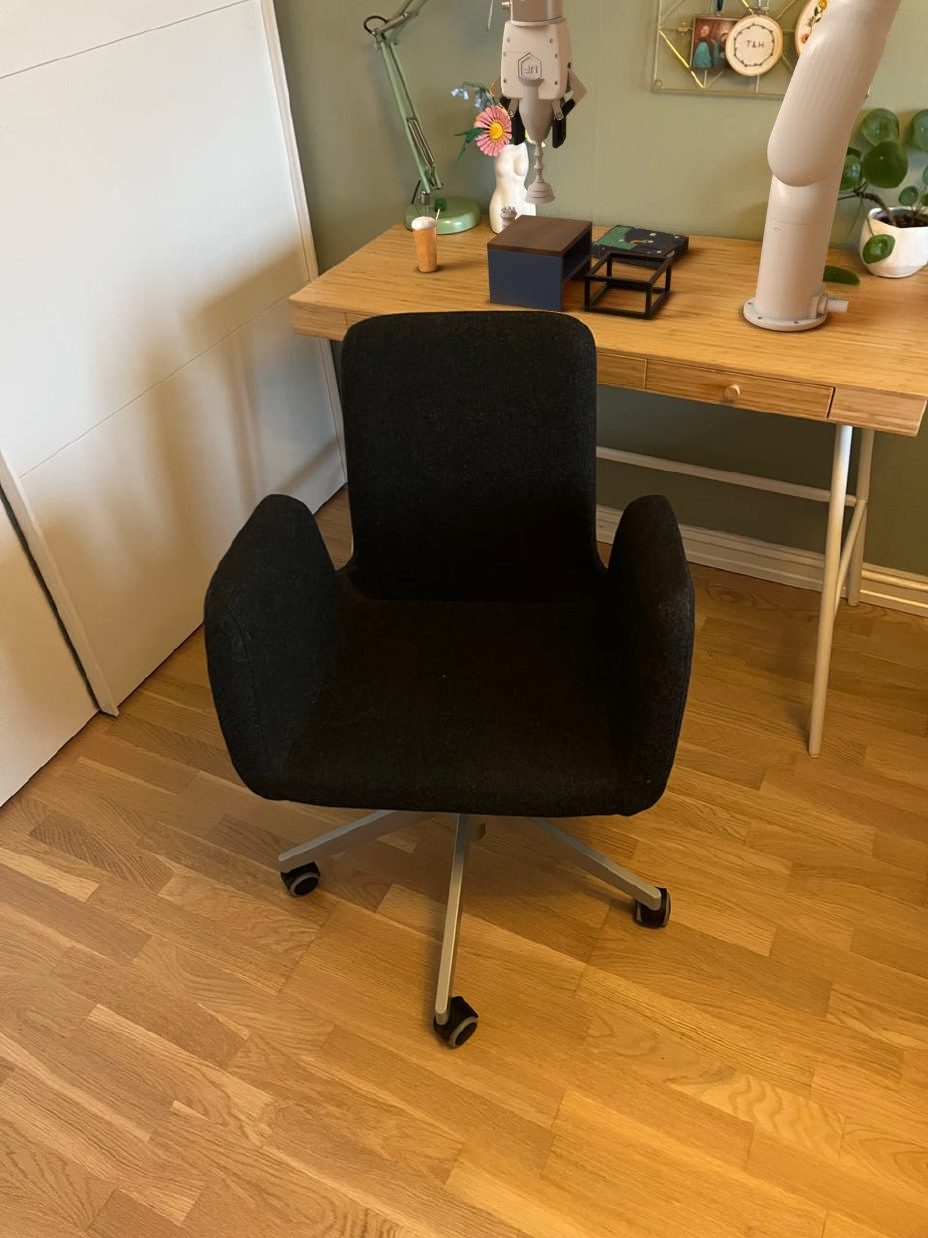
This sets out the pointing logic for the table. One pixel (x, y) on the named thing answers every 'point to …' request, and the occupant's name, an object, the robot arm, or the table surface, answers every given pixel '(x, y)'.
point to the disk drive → (640, 244)
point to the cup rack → (628, 284)
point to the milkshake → (426, 242)
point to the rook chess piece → (507, 216)
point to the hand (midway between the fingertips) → (538, 143)
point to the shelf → (538, 260)
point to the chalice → (536, 136)
